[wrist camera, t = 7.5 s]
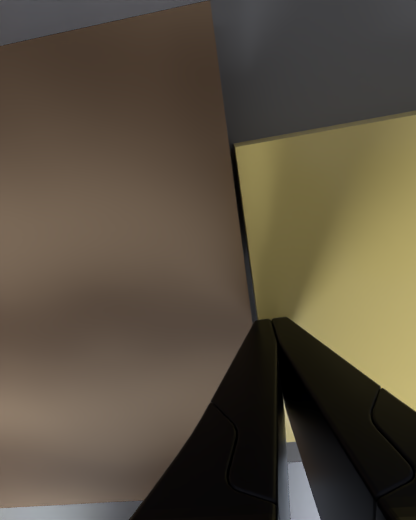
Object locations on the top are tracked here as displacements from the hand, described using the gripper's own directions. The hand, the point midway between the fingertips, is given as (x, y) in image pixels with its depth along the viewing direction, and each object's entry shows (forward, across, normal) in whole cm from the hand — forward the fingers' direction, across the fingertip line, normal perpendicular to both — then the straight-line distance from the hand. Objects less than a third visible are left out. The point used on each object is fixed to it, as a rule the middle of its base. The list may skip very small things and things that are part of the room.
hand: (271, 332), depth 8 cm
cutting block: (+3, +7, 0) cm, 8 cm away
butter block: (+1, -3, 0) cm, 3 cm away
